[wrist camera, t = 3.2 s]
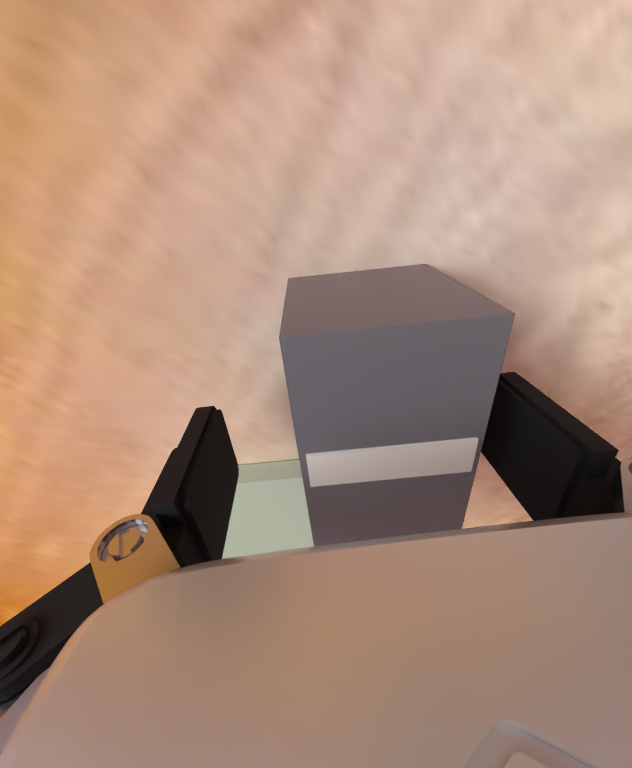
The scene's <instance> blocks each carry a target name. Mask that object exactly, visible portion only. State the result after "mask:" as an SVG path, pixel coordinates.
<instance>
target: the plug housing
mask: <svg viewBox="0 0 632 768" xmlns="http://www.w3.org/2000/svg"><path fill="white" fill-rule="evenodd" d="M514 315H515V313H513V312H511V311H509V310H508V309H506V308H504V307H502V306H500V305H499V304H497V303H495V302H493V301H491V300H490V299H488V298H486V297H484V296H482V295H481V294H479V293H477V292H475V291H473V290H472V289H470V288H468V287H466V286H464V285H463V284H461V283H459V282H457V281H455V280H454V279H452V278H450V277H448V276H446V275H445V274H443V273H441V272H439V271H437V270H436V269H434V268H432V267H430V266H428V265H427V264H421V265H411V266H402V267H393V268H383V269H374V270H364V271H355V272H345V273H336V274H326V275H317V276H307V277H298V278H288V284H287V290H286V297H285V303H284V310H283V316H282V323H281V329H280V336H279V340H280V346H281V352H282V358H283V364H284V370H285V376H286V382H287V388H288V394H289V400H290V406H291V412H292V418H293V424H294V430H295V436H296V442H297V448H298V454H299V460H300V466H301V472H302V478H303V484H304V490H305V496H306V502H307V508H308V514H309V520H310V526H311V532H312V538H313V544H314V546H322V545H330V544H338V543H347V542H355V541H363V540H371V539H380V538H388V537H397V536H405V535H414V534H422V533H431V532H439V531H448V530H457V529H462V525H463V521H464V517H465V513H466V509H467V505H468V501H469V497H470V493H471V489H472V485H473V481H474V477H475V473H476V469H477V465H478V461H479V457H480V452H481V448H482V444H483V440H484V436H485V432H486V428H487V424H488V420H489V416H490V412H491V408H492V404H493V400H494V396H495V392H496V388H497V384H498V380H499V376H500V372H501V368H502V364H503V360H504V356H505V352H506V348H507V344H508V339H509V335H510V331H511V327H512V323H513V319H514Z"/></svg>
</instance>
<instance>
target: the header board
mask: <svg viewBox="0 0 632 768" xmlns="http://www.w3.org/2000/svg"><path fill="white" fill-rule="evenodd" d="M238 468H239V477H238V482H237V487H236V492H235V497H234V502H233V507H232V512H231V516H230V521H229V526H228V531H227V536H226V541H225V546H224V551H223V556H222V559H225V558H231V557H238V556H246V555H253V554H260V553H267V552H274V551H281V550H290V549H298V548H306V547H314V544H313V538H312V532H311V526H310V520H309V514H308V508H307V502H306V496H305V490H304V484H303V478H302V472H301V466H300V460H288V461H278V462H268V463H258V464H247V465H238Z"/></svg>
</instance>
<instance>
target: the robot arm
mask: <svg viewBox="0 0 632 768" xmlns="http://www.w3.org/2000/svg"><path fill="white" fill-rule="evenodd" d="M618 451H619V450H617V449H616V448H615V447H614V446H612V445H611V444H610V443H608V442H607V441H606V440H604V439H603V438H602V437H600V436H599V435H598V434H596V433H595V432H594V431H592V430H591V429H590V428H588V427H587V426H586V425H584V424H583V423H582V422H580V421H579V420H578V419H576V418H575V417H574V416H572V415H571V414H570V413H569V412H567V411H566V410H565V409H563V408H562V407H561V406H559V405H558V404H557V403H555V402H554V401H553V400H551V399H550V398H549V397H547V396H546V395H545V394H543V393H542V392H541V391H539V390H538V389H537V388H535V387H534V386H533V385H531V384H530V383H529V382H528V381H526V380H525V379H524V378H522V377H521V376H520V375H518V374H517V373H515V372H508V373H500V376H499V380H498V384H497V388H496V392H495V396H494V400H493V404H492V408H491V412H490V416H489V420H488V424H487V428H486V432H485V436H484V440H483V444H482V448H481V452H482V454H483V455H484V456H485V458H486V459H487V460H488V461H489V463H490V464H491V465H492V467H493V468H494V469H495V471H496V472H497V473H498V475H499V476H500V477H501V479H502V480H503V481H504V483H505V484H506V485H507V486H508V488H509V489H510V490H511V492H512V493H513V494H514V496H515V497H516V498H517V500H518V501H519V502H520V504H521V505H522V506H523V508H524V509H525V510H526V511H527V513H528V514H529V515H530V517H531V518H532V519H533V521H528V522H519V523H510V524H501V525H492V526H483V527H474V528H465V529H457V530H448V531H439V532H431V533H422V534H414V535H405V536H397V537H388V538H380V539H371V540H363V541H355V542H347V543H338V544H330V545H322V546H314V547H306V548H298V549H290V550H281V551H274V552H267V553H260V554H253V555H246V556H238V557H231V558H225V559H222V556H223V551H224V546H225V541H226V536H227V531H228V526H229V521H230V516H231V512H232V507H233V502H234V497H235V492H236V487H237V482H238V477H239V468H238V464H237V460H236V457H235V454H234V450H233V447H232V444H231V440H230V437H229V434H228V430H227V427H226V424H225V420H224V417H223V414H222V411H221V410H220V409H219V410H216V408H215V407H214V406H209V407H200V408H196V410H195V412H194V414H193V416H192V418H191V420H190V422H189V424H188V426H187V428H186V431H185V433H184V435H183V437H182V439H181V441H180V443H179V445H178V447H177V448H175V449H174V450H173V451H172V452H171V454H170V456H169V458H168V460H167V462H166V464H165V466H164V468H163V470H162V472H161V474H160V476H159V478H158V480H157V482H156V484H155V486H154V488H153V490H152V492H151V494H150V496H149V498H148V501H147V503H146V505H145V507H144V509H143V511H142V513H141V514H135V515H131V516H127V517H124V518H122V519H120V520H118V521H116V522H115V523H113V524H112V525H111V526H109V527H108V528H106V529H105V530H104V531H103V532H102V533H101V534H100V535H99V537H98V538H97V539H96V541H95V542H94V544H93V546H92V549H91V552H90V563H89V564H88V565H86V566H85V567H83V568H82V569H80V570H79V571H78V572H76V573H75V574H73V575H72V576H71V577H69V578H68V579H66V580H65V581H64V582H62V583H61V584H59V585H58V586H57V587H55V588H54V589H52V590H51V591H50V592H48V593H47V594H45V595H44V596H42V597H41V598H40V599H38V600H37V601H35V602H34V603H33V604H31V605H30V606H28V607H27V608H26V609H24V610H23V611H21V612H20V613H19V614H17V615H16V616H14V617H13V618H12V619H10V620H9V621H7V622H6V623H4V624H3V625H2V626H1V627H0V768H632V457H630V458H626V459H624V460H623V461H622V462H620V461H619V460H618V459H617V458H615V457H616V455H617V453H618Z"/></svg>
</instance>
